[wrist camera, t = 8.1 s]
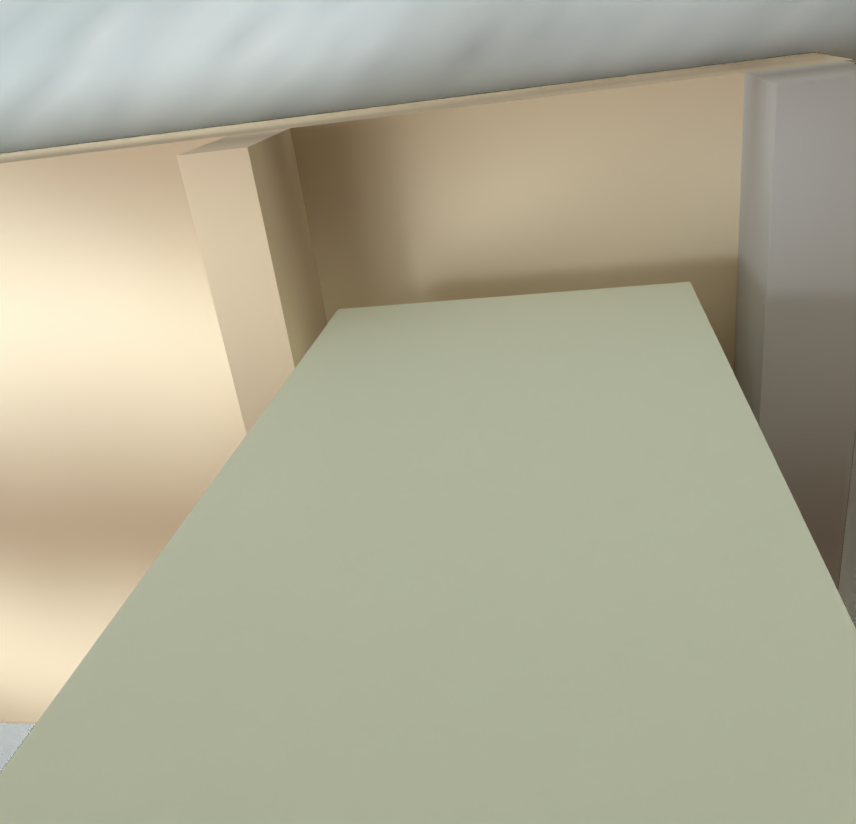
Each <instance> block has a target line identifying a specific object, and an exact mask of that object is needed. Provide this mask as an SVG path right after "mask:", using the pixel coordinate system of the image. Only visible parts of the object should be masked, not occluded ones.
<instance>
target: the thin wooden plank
mask: <svg viewBox="0 0 856 824" xmlns="http://www.w3.org/2000/svg"><path fill="white" fill-rule="evenodd" d="M680 282H690V283H691V285H692V287H693V289H694V291H695V293H696V295H697V297H698V299H699V302H700V304H701V306H702V308H703V310H704V312H705V314H706V316H707V318H708V320H709V322H710V325H711V327H712V329H713V331H714V333H715V335H716V337H717V339H718V341H719V343H720V345H721V348H722V350H723V352H724V354H725V356H726V358H727V360H728V362H729V364H730V366H731V368H732V371H733V373H734V375H735V377H736V379H737V381H738V383H739V385H740V387H741V389H742V391H743V394H744V396H745V398H746V400H747V402H748V404H749V406H750V408H751V410H752V412H753V414H754V417H755V419H756V421H757V423H758V425H759V427H760V429H761V431H762V433H763V435H764V437H765V440H766V442H767V444H768V446H769V448H770V450H771V452H772V454H773V456H774V458H775V460H776V463H777V465H778V467H779V469H780V471H781V473H782V475H783V477H784V479H785V481H786V483H787V486H788V488H789V490H790V492H791V494H792V496H793V498H794V500H795V502H796V504H797V507H798V509H799V511H800V513H801V515H802V517H803V519H804V521H805V523H806V525H807V527H808V530H809V532H810V534H811V536H812V538H813V540H814V542H815V544H816V546H817V548H818V550H819V553H820V555H821V557H822V559H823V561H824V563H825V565H826V567H827V569H828V571H829V573H830V576H831V578H832V580H833V582H834V584H835V586H836V588H837V590H838V586H839V577H840V568H841V559H842V550H843V541H844V532H845V523H846V514H847V505H848V496H849V487H850V478H851V469H852V460H853V451H854V442H855V433H856V63H854V59H849V58H844V57H838V56H832V55H827V54H821V53H815V52H814V53H806V54H798V55H790V56H782V57H774V58H766V59H758V60H750V61H742V62H734V63H726V64H718V65H709V66H701V67H693V68H685V69H677V70H669V71H661V72H653V73H645V74H637V75H629V76H621V77H613V78H605V79H597V80H589V81H581V82H573V83H565V84H557V85H549V86H541V87H533V88H525V89H517V90H509V91H501V92H492V93H484V94H476V95H468V96H460V97H452V98H444V99H436V100H428V101H420V102H412V103H404V104H396V105H388V106H380V107H372V108H364V109H356V110H348V111H340V112H332V113H324V114H316V115H308V116H300V117H292V118H284V119H275V120H267V121H259V122H251V123H243V124H235V125H227V126H219V127H211V128H203V129H195V130H187V131H179V132H171V133H163V134H155V135H147V136H139V137H131V138H123V139H115V140H107V141H99V142H91V143H83V144H75V145H66V146H58V147H50V148H42V149H34V150H26V151H18V152H10V153H2V154H0V722H5V723H37V722H38V720H39V719H40V717H41V716H42V715H43V713H44V712H45V711H46V709H47V708H48V706H49V705H50V704H51V702H52V701H53V700H54V698H55V697H56V695H57V694H58V693H59V691H60V690H61V689H62V687H63V686H64V685H65V683H66V682H67V680H68V679H69V678H70V676H71V675H72V674H73V672H74V671H75V669H76V668H77V667H78V665H79V664H80V663H81V661H82V660H83V658H84V657H85V656H86V654H87V653H88V652H89V650H90V649H91V648H92V646H93V645H94V643H95V642H96V641H97V639H98V638H99V637H100V635H101V634H102V632H103V631H104V630H105V628H106V627H107V626H108V624H109V623H110V621H111V620H112V619H113V617H114V616H115V615H116V613H117V612H118V610H119V609H120V608H121V606H122V605H123V604H124V602H125V601H126V600H127V598H128V597H129V595H130V594H131V593H132V591H133V590H134V589H135V587H136V586H137V584H138V583H139V582H140V580H141V579H142V578H143V576H144V575H145V573H146V572H147V571H148V569H149V568H150V567H151V565H152V564H153V562H154V561H155V560H156V558H157V557H158V556H159V554H160V553H161V552H162V550H163V549H164V547H165V546H166V545H167V543H168V542H169V541H170V539H171V538H172V536H173V535H174V534H175V532H176V531H177V530H178V528H179V527H180V525H181V524H182V523H183V521H184V520H185V519H186V517H187V516H188V514H189V513H190V512H191V510H192V509H193V508H194V506H195V505H196V504H197V502H198V501H199V499H200V498H201V497H202V495H203V494H204V493H205V491H206V490H207V488H208V487H209V486H210V484H211V483H212V482H213V480H214V479H215V477H216V476H217V475H218V473H219V472H220V471H221V469H222V468H223V466H224V465H225V464H226V462H227V461H228V460H229V458H230V457H231V456H232V454H233V453H234V451H235V450H236V449H237V447H238V446H239V445H240V443H241V442H242V440H243V439H244V438H245V436H246V435H247V434H248V432H249V431H250V429H251V428H252V427H253V425H254V424H255V423H256V421H257V420H258V418H259V417H260V416H261V414H262V413H263V412H264V410H265V409H266V408H267V406H268V405H269V403H270V402H271V401H272V399H273V398H274V397H275V395H276V394H277V392H278V391H279V390H280V388H281V387H282V386H283V384H284V383H285V381H286V380H287V379H288V377H289V376H290V375H291V373H292V372H293V370H294V369H295V368H296V366H297V365H298V364H299V362H300V361H301V360H302V358H303V357H304V355H305V354H306V353H307V351H308V350H309V349H310V347H311V346H312V344H313V343H314V342H315V340H316V339H317V338H318V336H319V335H320V333H321V332H322V331H323V329H324V328H325V327H326V325H327V324H328V322H329V321H330V320H331V318H332V317H333V316H334V314H335V313H336V312H337V310H338V309H347V308H360V307H373V306H386V305H398V304H411V303H424V302H437V301H450V300H462V299H475V298H488V297H501V296H513V295H526V294H539V293H552V292H565V291H577V290H590V289H603V288H616V287H628V286H641V285H654V284H667V283H680Z"/></svg>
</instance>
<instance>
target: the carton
mask: <svg viewBox="0 0 856 824" xmlns="http://www.w3.org/2000/svg"><path fill="white" fill-rule="evenodd" d="M0 824H856V628H855V626H854V624H853V622H852V619H851V617H850V615H849V613H848V611H847V609H846V607H845V605H844V603H843V601H842V599H841V596H840V594H839V592H838V590H837V588H836V586H835V584H834V582H833V580H832V578H831V576H830V573H829V571H828V569H827V567H826V565H825V563H824V561H823V559H822V557H821V555H820V553H819V550H818V548H817V546H816V544H815V542H814V540H813V538H812V536H811V534H810V532H809V530H808V527H807V525H806V523H805V521H804V519H803V517H802V515H801V513H800V511H799V509H798V507H797V504H796V502H795V500H794V498H793V496H792V494H791V492H790V490H789V488H788V486H787V483H786V481H785V479H784V477H783V475H782V473H781V471H780V469H779V467H778V465H777V463H776V460H775V458H774V456H773V454H772V452H771V450H770V448H769V446H768V444H767V442H766V440H765V437H764V435H763V433H762V431H761V429H760V427H759V425H758V423H757V421H756V419H755V417H754V414H753V412H752V410H751V408H750V406H749V404H748V402H747V400H746V398H745V396H744V394H743V391H742V389H741V387H740V385H739V383H738V381H737V379H736V377H735V375H734V373H733V371H732V368H731V366H730V364H729V362H728V360H727V358H726V356H725V354H724V352H723V350H722V348H721V345H720V343H719V341H718V339H717V337H716V335H715V333H714V331H713V329H712V327H711V325H710V322H709V320H708V318H707V316H706V314H705V312H704V310H703V308H702V306H701V304H700V302H699V299H698V297H697V295H696V293H695V291H694V289H693V287H692V285H691V283H690V282H680V283H667V284H654V285H641V286H628V287H616V288H603V289H590V290H577V291H565V292H552V293H539V294H526V295H513V296H501V297H488V298H475V299H462V300H450V301H437V302H424V303H411V304H398V305H386V306H373V307H360V308H347V309H338V310H337V312H336V313H335V314H334V316H333V317H332V318H331V320H330V321H329V322H328V324H327V325H326V327H325V328H324V329H323V331H322V332H321V333H320V335H319V336H318V338H317V339H316V340H315V342H314V343H313V344H312V346H311V347H310V349H309V350H308V351H307V353H306V354H305V355H304V357H303V358H302V360H301V361H300V362H299V364H298V365H297V366H296V368H295V369H294V370H293V372H292V373H291V375H290V376H289V377H288V379H287V380H286V381H285V383H284V384H283V386H282V387H281V388H280V390H279V391H278V392H277V394H276V395H275V397H274V398H273V399H272V401H271V402H270V403H269V405H268V406H267V408H266V409H265V410H264V412H263V413H262V414H261V416H260V417H259V418H258V420H257V421H256V423H255V424H254V425H253V427H252V428H251V429H250V431H249V432H248V434H247V435H246V436H245V438H244V439H243V440H242V442H241V443H240V445H239V446H238V447H237V449H236V450H235V451H234V453H233V454H232V456H231V457H230V458H229V460H228V461H227V462H226V464H225V465H224V466H223V468H222V469H221V471H220V472H219V473H218V475H217V476H216V477H215V479H214V480H213V482H212V483H211V484H210V486H209V487H208V488H207V490H206V491H205V493H204V494H203V495H202V497H201V498H200V499H199V501H198V502H197V504H196V505H195V506H194V508H193V509H192V510H191V512H190V513H189V514H188V516H187V517H186V519H185V520H184V521H183V523H182V524H181V525H180V527H179V528H178V530H177V531H176V532H175V534H174V535H173V536H172V538H171V539H170V541H169V542H168V543H167V545H166V546H165V547H164V549H163V550H162V552H161V553H160V554H159V556H158V557H157V558H156V560H155V561H154V562H153V564H152V565H151V567H150V568H149V569H148V571H147V572H146V573H145V575H144V576H143V578H142V579H141V580H140V582H139V583H138V584H137V586H136V587H135V589H134V590H133V591H132V593H131V594H130V595H129V597H128V598H127V600H126V601H125V602H124V604H123V605H122V606H121V608H120V609H119V610H118V612H117V613H116V615H115V616H114V617H113V619H112V620H111V621H110V623H109V624H108V626H107V627H106V628H105V630H104V631H103V632H102V634H101V635H100V637H99V638H98V639H97V641H96V642H95V643H94V645H93V646H92V648H91V649H90V650H89V652H88V653H87V654H86V656H85V657H84V658H83V660H82V661H81V663H80V664H79V665H78V667H77V668H76V669H75V671H74V672H73V674H72V675H71V676H70V678H69V679H68V680H67V682H66V683H65V685H64V686H63V687H62V689H61V690H60V691H59V693H58V694H57V695H56V697H55V698H54V700H53V701H52V702H51V704H50V705H49V706H48V708H47V709H46V711H45V712H44V713H43V715H42V716H41V717H40V719H39V720H38V722H37V723H36V724H35V726H34V727H33V728H32V730H31V731H30V733H29V734H28V735H27V737H26V738H25V739H24V741H23V742H22V743H21V745H20V746H19V748H18V749H17V750H16V752H15V753H14V754H13V756H12V757H11V759H10V760H9V761H8V763H7V764H6V765H5V767H4V768H3V770H2V771H1V772H0Z"/></svg>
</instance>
